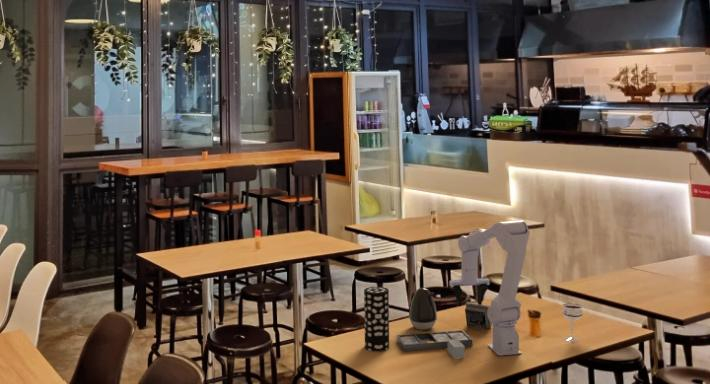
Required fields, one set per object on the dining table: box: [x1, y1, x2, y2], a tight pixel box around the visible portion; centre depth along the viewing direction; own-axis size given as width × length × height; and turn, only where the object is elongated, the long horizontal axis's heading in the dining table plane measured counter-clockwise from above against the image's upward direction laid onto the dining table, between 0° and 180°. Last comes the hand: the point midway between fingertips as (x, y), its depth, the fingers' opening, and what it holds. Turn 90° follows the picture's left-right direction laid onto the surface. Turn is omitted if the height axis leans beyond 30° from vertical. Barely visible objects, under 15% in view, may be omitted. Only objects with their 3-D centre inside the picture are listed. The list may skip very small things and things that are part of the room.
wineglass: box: [562, 302, 584, 343], centre depth 215 cm, size 7×7×12 cm
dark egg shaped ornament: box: [408, 287, 438, 331], centre depth 229 cm, size 10×10×15 cm
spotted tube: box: [363, 286, 390, 352], centre depth 210 cm, size 8×8×20 cm
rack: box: [396, 329, 474, 353], centre depth 213 cm, size 10×24×2 cm, turn 100°
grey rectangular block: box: [446, 339, 466, 360], centre depth 203 cm, size 7×4×4 cm, turn 10°
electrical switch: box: [464, 301, 493, 331], centre depth 229 cm, size 9×5×9 cm, turn 57°
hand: (469, 305), depth 225 cm, fingers open, 7 cm apart
